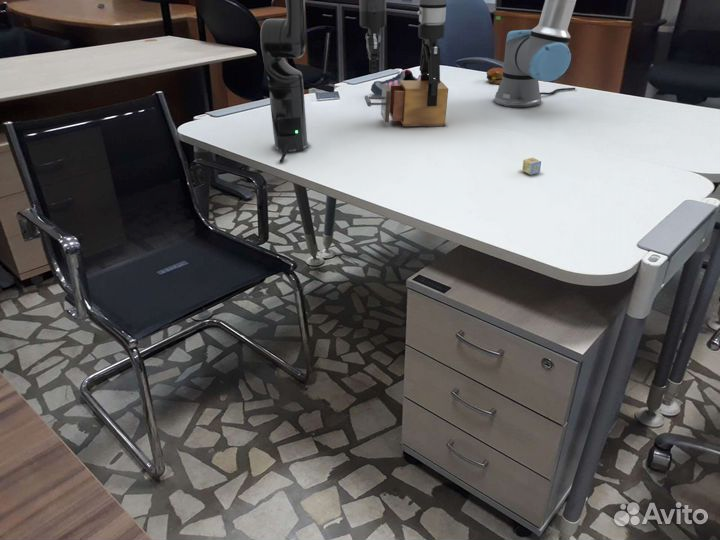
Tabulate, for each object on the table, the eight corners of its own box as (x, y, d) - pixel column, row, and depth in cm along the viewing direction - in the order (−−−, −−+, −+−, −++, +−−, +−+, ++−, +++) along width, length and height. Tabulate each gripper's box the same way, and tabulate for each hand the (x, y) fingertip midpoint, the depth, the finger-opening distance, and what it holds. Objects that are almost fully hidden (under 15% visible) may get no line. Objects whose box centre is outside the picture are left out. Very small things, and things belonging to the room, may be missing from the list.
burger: (509, 78, 224) (510, 66, 222) (513, 84, 216) (515, 71, 214) (483, 78, 224) (484, 66, 222) (487, 84, 216) (488, 72, 214)
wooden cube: (403, 126, 172) (405, 88, 166) (397, 116, 181) (399, 80, 176) (444, 126, 173) (448, 88, 168) (437, 116, 183) (440, 80, 177)
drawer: (366, 122, 171) (367, 91, 166) (363, 114, 179) (364, 83, 175) (422, 122, 173) (425, 91, 168) (417, 114, 181) (419, 83, 176)
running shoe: (382, 90, 212) (382, 60, 206) (438, 103, 195) (439, 70, 190) (365, 95, 206) (364, 64, 201) (420, 108, 190) (421, 75, 184)
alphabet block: (529, 175, 138) (531, 163, 136) (521, 170, 140) (523, 159, 139) (540, 173, 139) (541, 161, 137) (531, 168, 141) (533, 157, 140)
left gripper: (357, 6, 165) (358, 68, 174) (361, 12, 154) (363, 78, 163) (382, 5, 165) (383, 67, 174) (389, 11, 154) (389, 76, 163)
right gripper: (411, 18, 173) (409, 92, 184) (426, 29, 153) (423, 111, 164) (436, 17, 173) (432, 91, 185) (454, 28, 153) (448, 110, 165)
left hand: (373, 72), depth 168 cm, fingers closed
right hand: (428, 101), depth 174 cm, fingers closed on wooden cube, 11 cm apart
